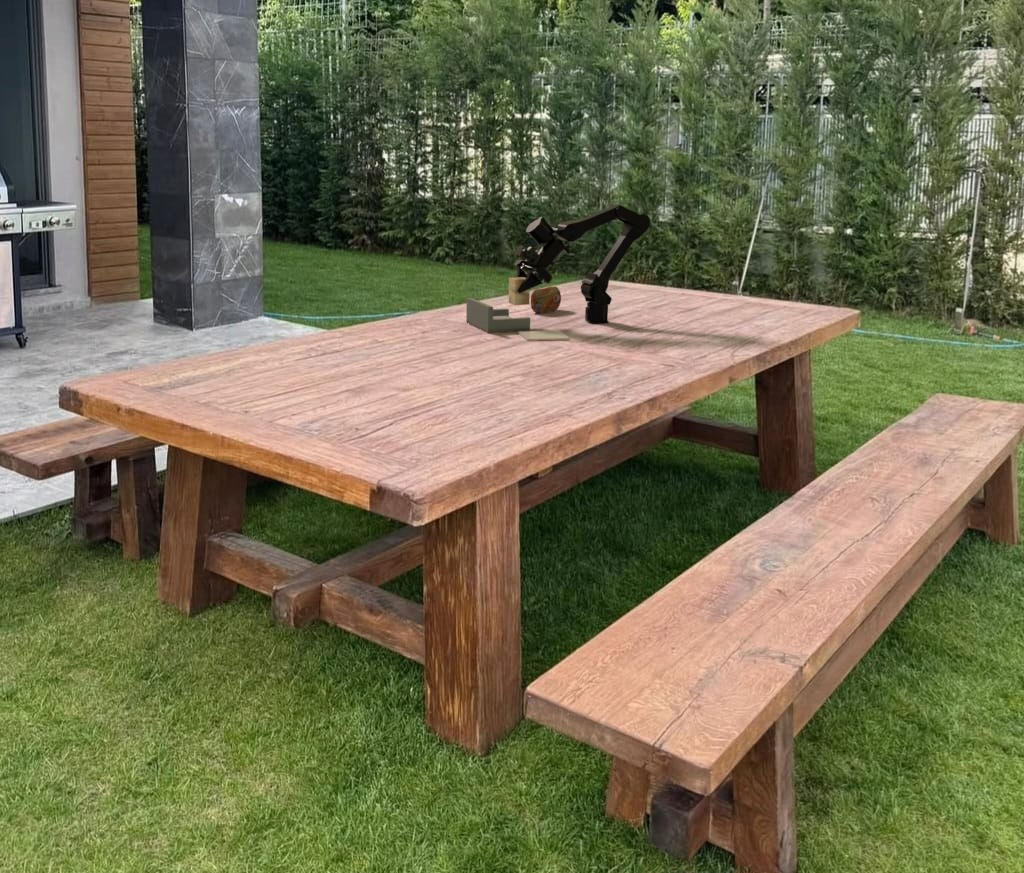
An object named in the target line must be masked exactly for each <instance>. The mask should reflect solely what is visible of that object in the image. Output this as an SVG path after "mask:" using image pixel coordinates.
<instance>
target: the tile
mask: <svg viewBox="0 0 1024 873" xmlns="http://www.w3.org/2000/svg"><path fill="white" fill-rule="evenodd" d="M517 334H518V335H519V334H520V336H521V337H522V338H523V339H524V338H525V339H524V340H525V341H527V342H539V341H538V340H553V341H570V339H571V338H570V337H569V336H567V335H566V334H565V333H563V332H562V331H560V330H530V331H518V332H517Z"/></svg>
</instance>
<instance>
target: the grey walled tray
mask: <svg viewBox="0 0 1024 873" xmlns="http://www.w3.org/2000/svg"><path fill="white" fill-rule="evenodd" d="M509 315H510V309H509V308H494V306H492V305H490V304H487V303H485V302H482V301H480V300H477V299H476V298H473V297H466V322H467V323H466V322H465V323H466V324H468V323H469V324H468V325H470V326H473V327H474V328H476V329H479V330H480V329H481V330H480V331H483V332H485V333H486V334H498V333H499V334H500V333H518V331H531V317H528V316H527V317H511V316H509Z"/></svg>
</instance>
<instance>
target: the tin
mask: <svg viewBox="0 0 1024 873" xmlns="http://www.w3.org/2000/svg"><path fill="white" fill-rule="evenodd" d="M561 294H562V293H561V291H560V289H559V288H558V287H557V286H546V287H542V288H541V287H540V288H537V289H534V290H533V291H532V293H531V295H530V308H531V310H532V311H533V312H534V313H536V314H546V313H545V312H547V313H550V312H549V311H551V312H555V311H557V310H558V309H559V308H560V306H561V301H562V295H561ZM554 310H555V311H554Z"/></svg>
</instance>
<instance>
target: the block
mask: <svg viewBox="0 0 1024 873" xmlns="http://www.w3.org/2000/svg"><path fill="white" fill-rule="evenodd" d="M525 279H526V278H525V277H508V303H509V304H510V305H512V306H524V305H525V306H526V305H530V299H531V295H530V289H528V290H526V291H524V292H522V293H519V292H518V289H519V287H520V286H521V284H522V283H523V282H524V280H525Z"/></svg>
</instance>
